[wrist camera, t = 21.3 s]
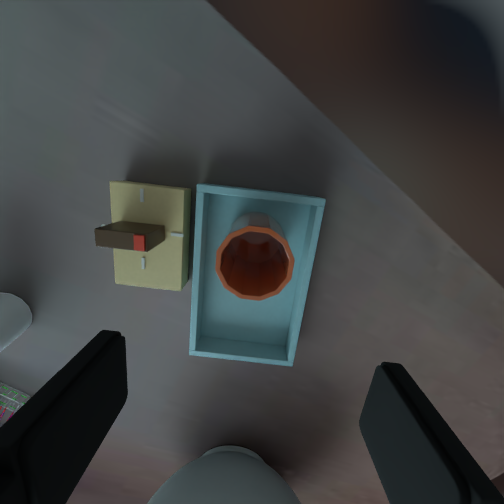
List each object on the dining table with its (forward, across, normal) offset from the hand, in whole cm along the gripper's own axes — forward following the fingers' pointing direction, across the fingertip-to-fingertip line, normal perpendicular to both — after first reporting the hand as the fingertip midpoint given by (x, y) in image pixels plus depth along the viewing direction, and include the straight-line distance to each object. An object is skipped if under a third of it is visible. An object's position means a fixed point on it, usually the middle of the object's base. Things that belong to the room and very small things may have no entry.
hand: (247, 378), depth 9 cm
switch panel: (+22, +12, +1) cm, 25 cm away
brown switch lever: (+19, +13, 0) cm, 23 cm away
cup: (+22, 0, 0) cm, 22 cm away
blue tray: (+22, 0, +5) cm, 23 cm away
